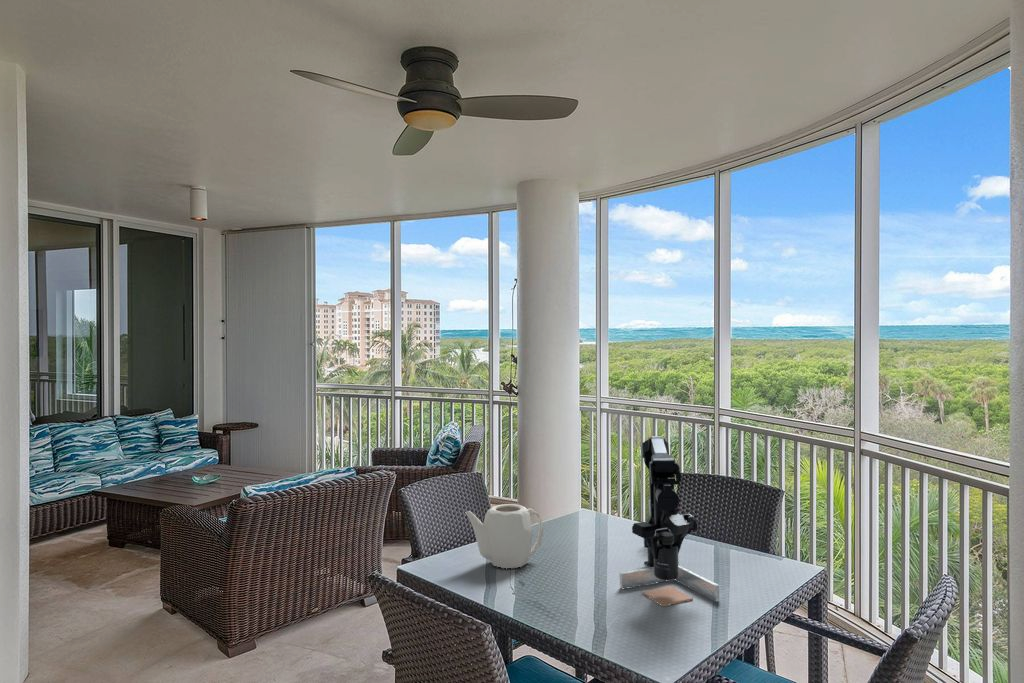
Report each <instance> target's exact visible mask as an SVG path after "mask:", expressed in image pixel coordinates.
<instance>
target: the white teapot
mask: <svg viewBox="0 0 1024 683" xmlns="http://www.w3.org/2000/svg"><path fill="white" fill-rule="evenodd" d="M464 513H465V514H466V516H467V518H468V519H469V521H470V524H471V526H472V529H473V531H474V536H475V539H476V543H477V547H478V551H479V554H480V556H482V558H484V559H487V560H489V561H490V562H491V564H492V566H493V567H494V566H497V567H496V568H498V567H501V569H504V568H506V569H505V570H508V569H507V568H511V569H519V568H518V567H520V568H522V567H523V566H525V565H526V564H528V562H529V559H530V557H531V556H532V555H534V554H535V553H536V551H537V550H538V548H540V546H541V544H542V539H543V536H544V526H543V523H542V518H541V516H540V514H539V513H538V512H537V511H536V510H534V509H533V508H532V507H531V508H530V507H529V508H527V507H525V506H524V505H521V504H515V503H504V504H498V505H494V506H492V507H491V508H490V509H487V511H486V513H485V516H484V520H483V521H484V522H482V521H481V520H480V519H479V517H477V516H476V515H475V513H473V512H472V511H471V510H468V511H465V512H464ZM531 515H534V516H535V517H536V519H537V522H538V534H537V537H536V540H535V541H536V542H535V543H534V544H533V546H532V543H533V533H534V529H533V524H532V518H531Z"/></svg>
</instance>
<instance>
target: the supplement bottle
mask: <svg viewBox="0 0 1024 683" xmlns="http://www.w3.org/2000/svg"><path fill="white" fill-rule="evenodd" d="M657 536H658V537H659V539H658V542H657V559H655V558H654V575H655V576H656V577H657V578H659V579H662V580H671V581H675V580H674V579H677V578H678V565H679V553H678V546H677V545H676V544H675V543H674V542H675V539H674V535H673V534H672V533H670V532H659V533H657Z"/></svg>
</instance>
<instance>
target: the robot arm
mask: <svg viewBox="0 0 1024 683" xmlns="http://www.w3.org/2000/svg"><path fill="white" fill-rule="evenodd" d="M669 446H670V445H669V442H668V441H666V437H665V436H663V435H653V436H652V435H651V436H648V439H647V440H645V441H643V442H642V443H641V458H642V459H643V463H644V464H645V466H646V468H647V469H648V474H649V475H648V478H649V479H648V481H649V483H648V484H649V500H650V516H648V518H647V519H646V521H642V522H641V521H640V522H634V523H633V525H632V526H631V528H632V529H631V530H632V531H631V532H632V534H634V535H636V536H638V537H640V538H643V546H644V548H645V549H647V561H644V562H643V563H644V564H645V565H646V566H648V567H649V568H650V567H654V558H655V559H657V542H658V539H659V537H658V536H657V533H659V532H670V533H672V534H673V535H674V539H675V542H674V543H675V544H676V545H677V546H678V554H680V550H681V547H682V544H683V541H684V538H686V537H687V536H688V535H690V534H691V533H692V532H693V531H698V528H699V527H698V526H699V525H698V522H697V520H696V519H694V516H693V515H692V514H691V513H687V514H680V513H679V508H678V506H679V504H680V497H679V495H678V493H677V492H676V489H675V485H681V484H680V483H681V481H682V477H681V475H682V474H681V469H680V465H679V464H678V462H677V461H675V460H676V459H675V458H674V456H673V455H671V454H670V448H669Z"/></svg>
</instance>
